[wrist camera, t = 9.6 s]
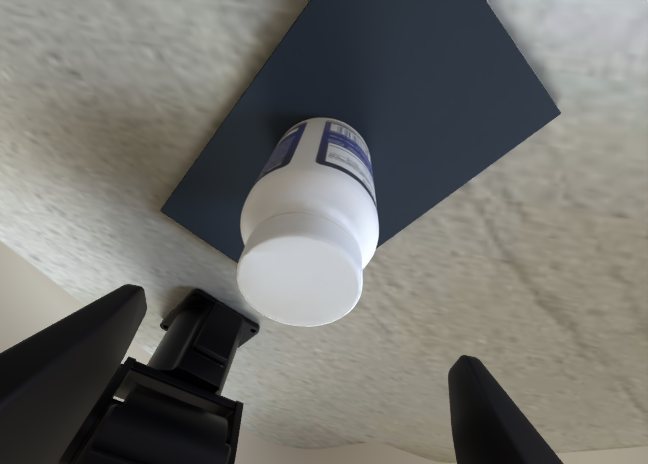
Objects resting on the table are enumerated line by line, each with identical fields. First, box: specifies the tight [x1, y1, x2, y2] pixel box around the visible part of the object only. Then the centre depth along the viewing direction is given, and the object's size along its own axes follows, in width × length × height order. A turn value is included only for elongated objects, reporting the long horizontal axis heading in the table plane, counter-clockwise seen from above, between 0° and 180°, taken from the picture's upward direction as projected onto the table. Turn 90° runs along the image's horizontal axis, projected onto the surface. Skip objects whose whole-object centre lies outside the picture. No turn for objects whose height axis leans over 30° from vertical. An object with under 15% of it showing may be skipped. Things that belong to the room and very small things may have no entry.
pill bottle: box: [236, 118, 379, 327], centre depth 14 cm, size 5×5×10 cm
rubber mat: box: [160, 0, 561, 263], centre depth 18 cm, size 20×12×1 cm, turn 137°
